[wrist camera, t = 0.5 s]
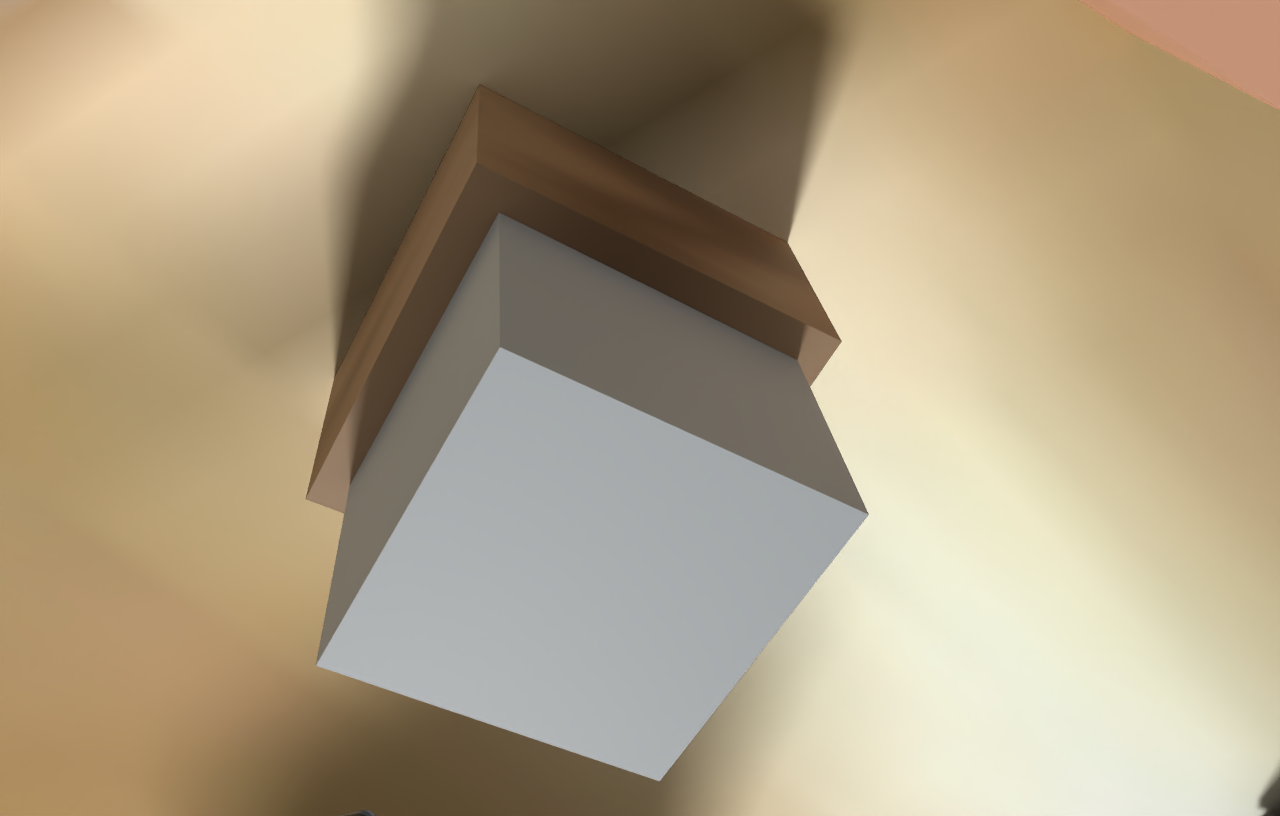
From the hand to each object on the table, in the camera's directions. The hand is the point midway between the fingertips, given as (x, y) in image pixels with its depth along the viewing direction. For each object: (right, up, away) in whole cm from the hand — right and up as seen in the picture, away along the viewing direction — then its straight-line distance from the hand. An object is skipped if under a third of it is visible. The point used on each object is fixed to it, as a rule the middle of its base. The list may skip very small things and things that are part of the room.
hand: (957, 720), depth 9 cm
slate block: (-3, +2, +9) cm, 10 cm away
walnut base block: (-4, +4, +12) cm, 14 cm away
